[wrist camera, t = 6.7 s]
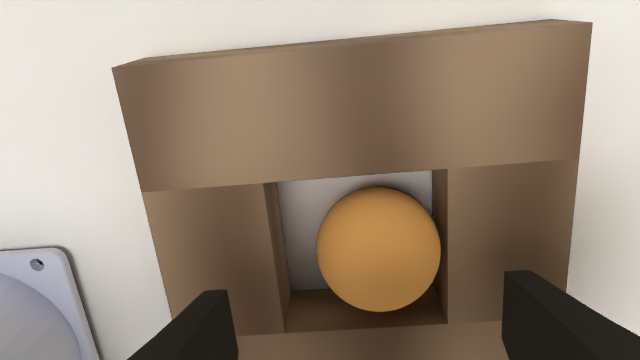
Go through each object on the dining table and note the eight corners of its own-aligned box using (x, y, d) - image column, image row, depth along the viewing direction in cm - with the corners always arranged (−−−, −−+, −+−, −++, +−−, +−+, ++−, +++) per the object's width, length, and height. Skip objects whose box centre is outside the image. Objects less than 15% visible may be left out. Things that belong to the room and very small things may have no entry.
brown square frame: (212, 373, 20) (196, 422, 18) (144, 57, 16) (111, 67, 13) (527, 356, 19) (554, 405, 17) (552, 19, 15) (592, 22, 12)
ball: (308, 285, 18) (347, 353, 14) (296, 184, 16) (335, 231, 13) (405, 259, 19) (466, 317, 15) (402, 162, 17) (467, 200, 14)
